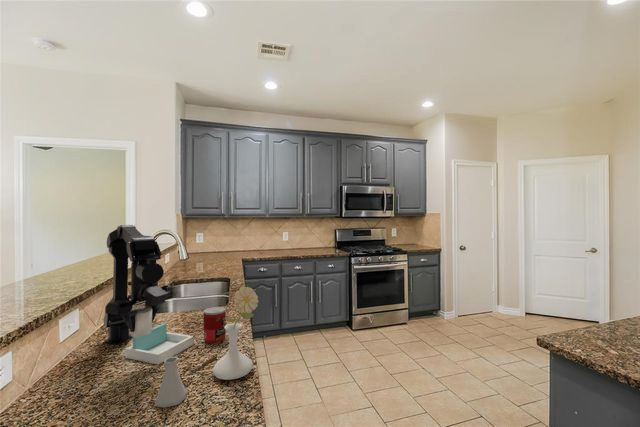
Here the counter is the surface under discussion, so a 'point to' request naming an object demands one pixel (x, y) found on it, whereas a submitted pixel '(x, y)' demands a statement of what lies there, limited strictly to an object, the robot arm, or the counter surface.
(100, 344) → the counter surface
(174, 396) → the flask
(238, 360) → the flower in vase
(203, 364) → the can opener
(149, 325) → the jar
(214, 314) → the canned food
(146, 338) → the pusher
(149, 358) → the lane
